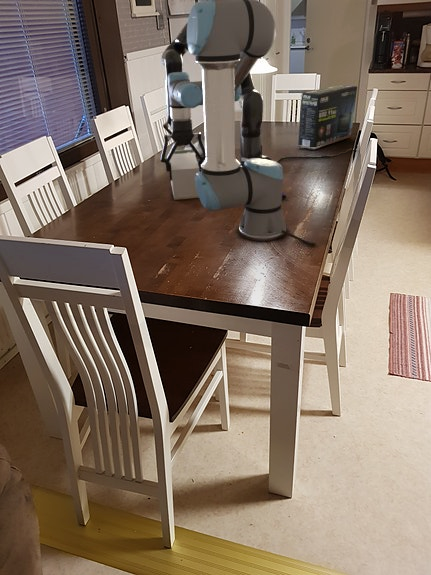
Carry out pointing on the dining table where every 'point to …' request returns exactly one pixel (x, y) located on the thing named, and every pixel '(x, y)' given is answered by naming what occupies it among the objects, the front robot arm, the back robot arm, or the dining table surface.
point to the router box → (326, 115)
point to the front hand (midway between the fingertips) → (185, 178)
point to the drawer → (182, 151)
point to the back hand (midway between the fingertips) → (179, 145)
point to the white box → (184, 175)
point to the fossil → (197, 147)
